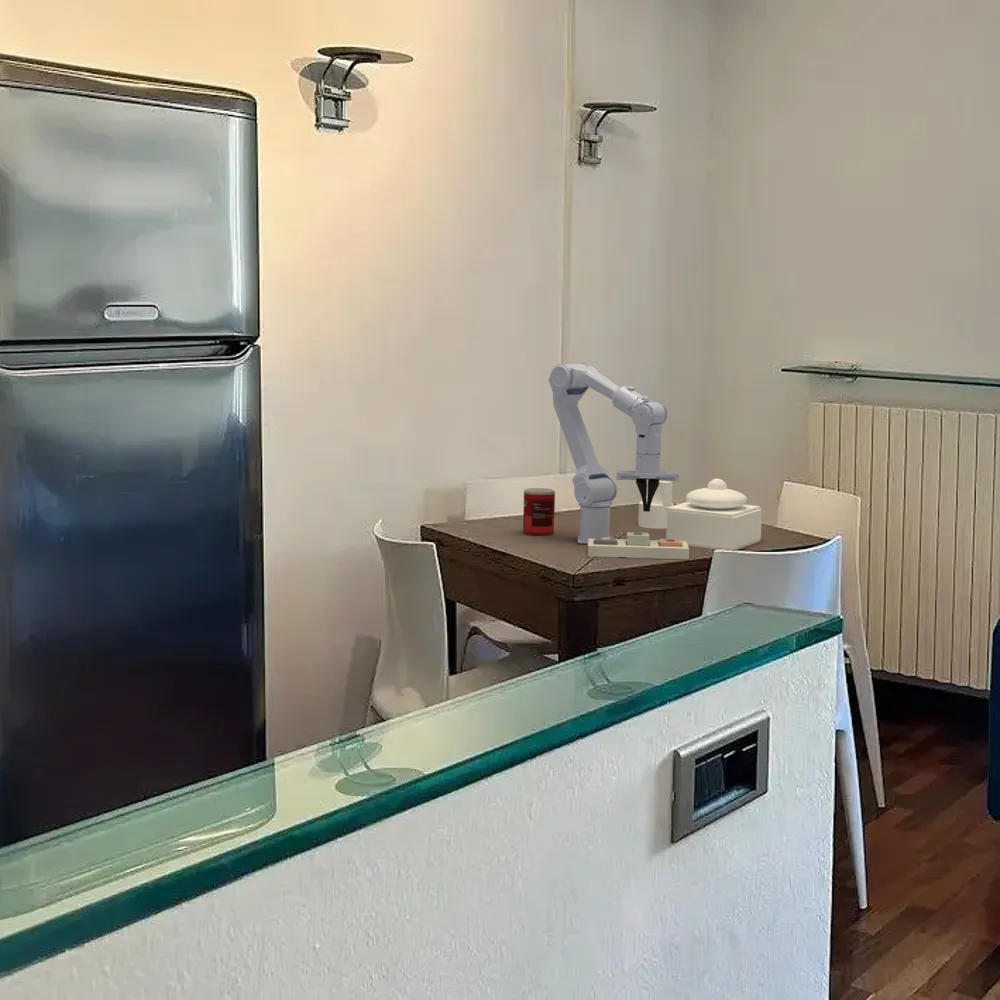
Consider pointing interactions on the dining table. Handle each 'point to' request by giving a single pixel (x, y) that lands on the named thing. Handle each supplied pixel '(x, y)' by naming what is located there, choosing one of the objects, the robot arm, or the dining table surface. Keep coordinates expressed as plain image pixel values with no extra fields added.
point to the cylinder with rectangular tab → (657, 507)
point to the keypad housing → (638, 550)
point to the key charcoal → (605, 540)
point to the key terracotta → (670, 542)
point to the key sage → (638, 538)
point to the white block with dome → (715, 519)
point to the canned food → (539, 511)
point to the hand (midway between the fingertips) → (646, 511)
